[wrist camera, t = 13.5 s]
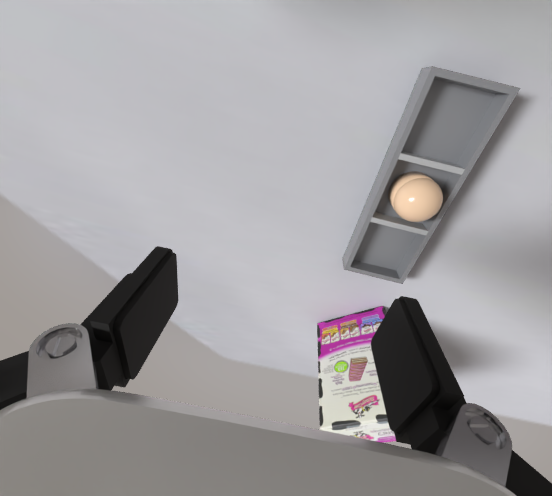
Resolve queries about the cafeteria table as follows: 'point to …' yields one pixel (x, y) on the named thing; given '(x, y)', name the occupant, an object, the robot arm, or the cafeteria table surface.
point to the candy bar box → (351, 377)
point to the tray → (426, 165)
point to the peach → (415, 196)
